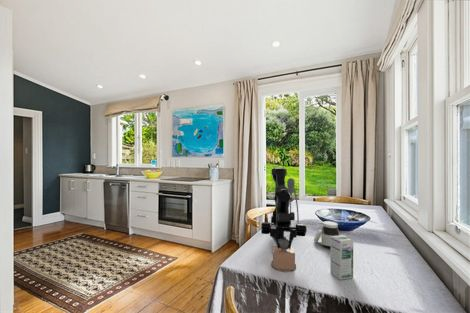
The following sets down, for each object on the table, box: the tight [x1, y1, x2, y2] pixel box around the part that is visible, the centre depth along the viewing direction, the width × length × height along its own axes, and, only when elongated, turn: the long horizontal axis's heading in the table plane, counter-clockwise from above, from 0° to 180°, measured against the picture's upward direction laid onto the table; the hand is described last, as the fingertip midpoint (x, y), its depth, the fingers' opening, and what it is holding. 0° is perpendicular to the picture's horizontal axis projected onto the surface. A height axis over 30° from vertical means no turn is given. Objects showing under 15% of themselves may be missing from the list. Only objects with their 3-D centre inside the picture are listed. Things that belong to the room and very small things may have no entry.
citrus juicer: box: [286, 177, 300, 226], centre depth 156 cm, size 11×10×30 cm
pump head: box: [279, 238, 289, 251], centre depth 93 cm, size 6×4×8 cm, turn 173°
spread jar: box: [313, 220, 340, 250], centre depth 116 cm, size 12×11×12 cm
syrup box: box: [329, 234, 354, 281], centre depth 87 cm, size 6×6×14 cm
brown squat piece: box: [270, 245, 297, 273], centre depth 94 cm, size 10×10×6 cm
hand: (284, 248), depth 92 cm, fingers closed on pump head, 4 cm apart
